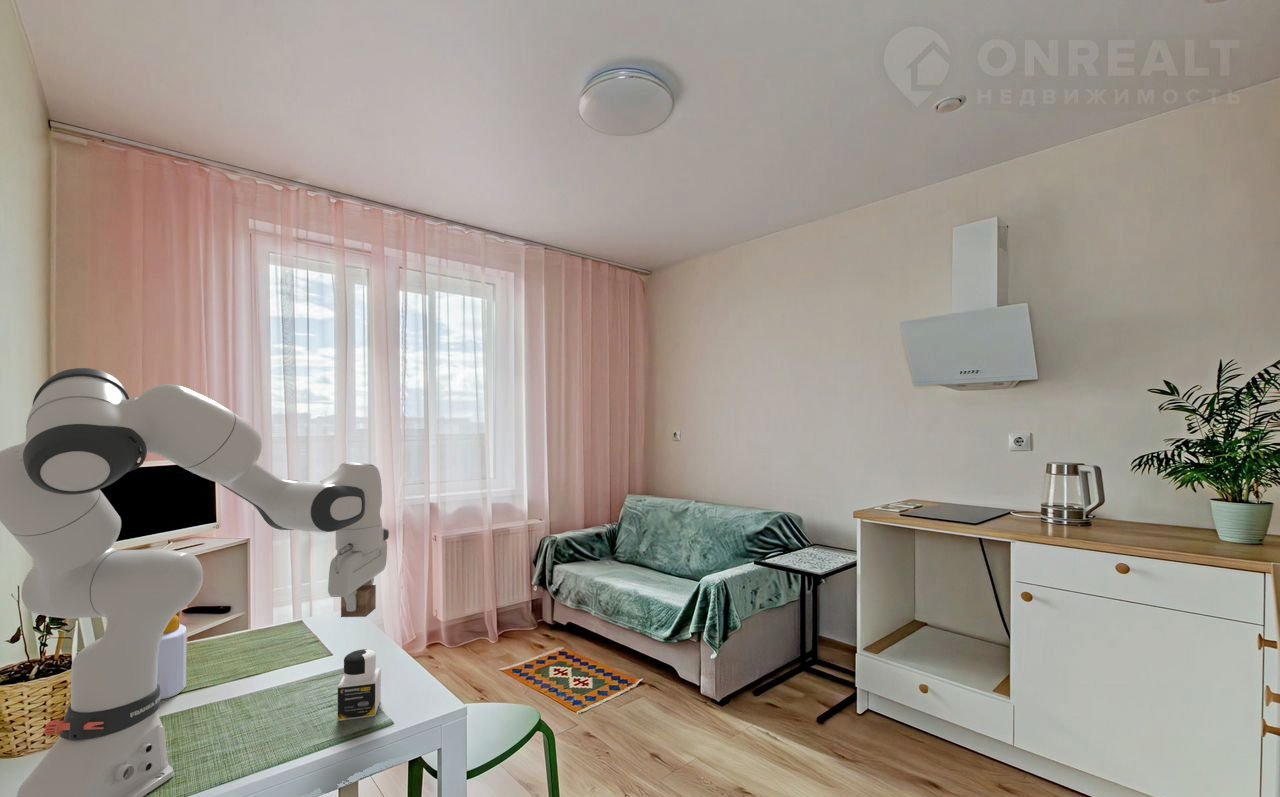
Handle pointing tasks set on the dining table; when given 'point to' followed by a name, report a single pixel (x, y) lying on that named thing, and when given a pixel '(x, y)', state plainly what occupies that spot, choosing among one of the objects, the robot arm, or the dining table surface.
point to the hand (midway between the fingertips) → (359, 605)
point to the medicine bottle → (359, 686)
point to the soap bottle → (172, 659)
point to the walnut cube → (361, 602)
